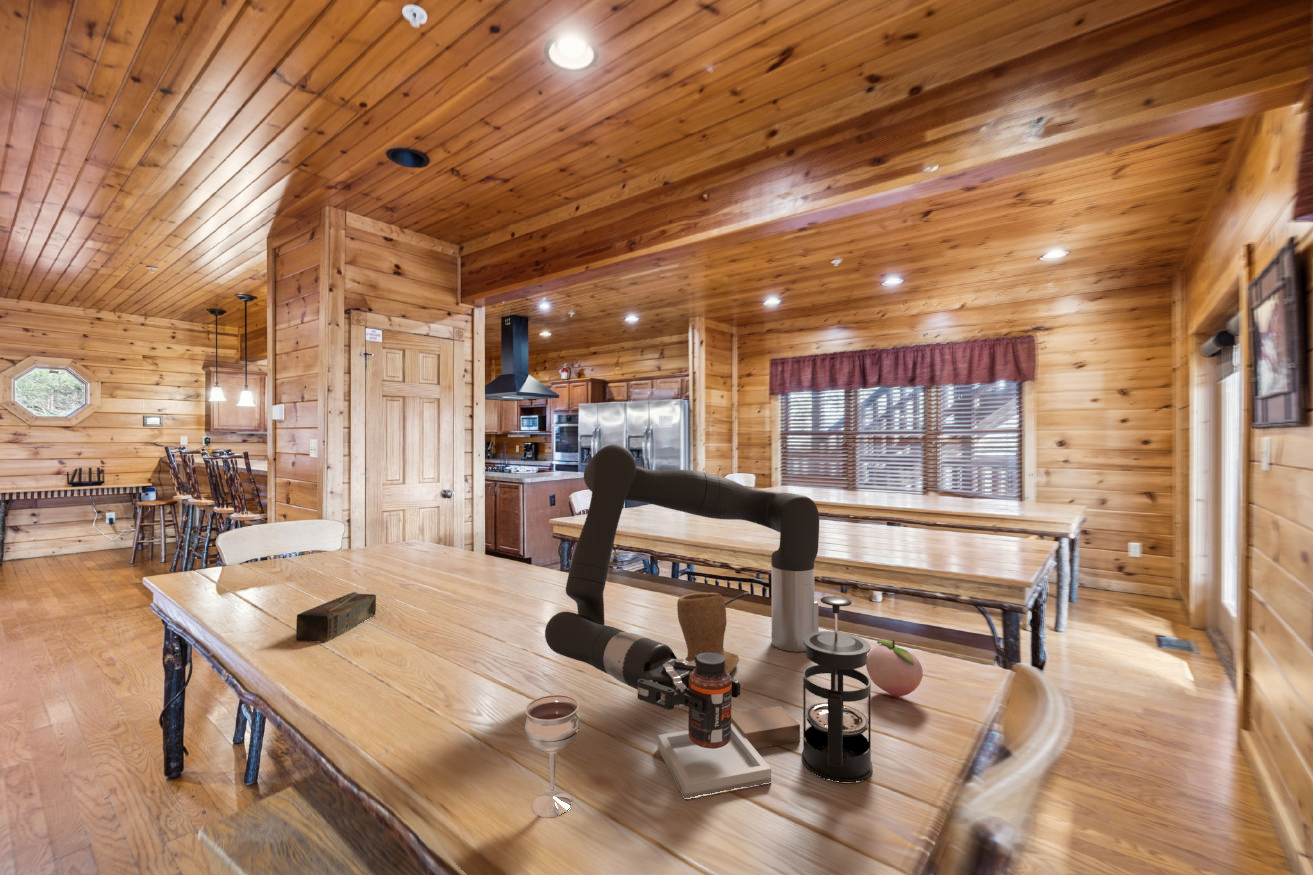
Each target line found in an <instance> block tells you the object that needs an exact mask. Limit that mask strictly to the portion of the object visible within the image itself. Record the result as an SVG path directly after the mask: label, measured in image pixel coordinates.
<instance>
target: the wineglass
mask: <svg viewBox="0 0 1313 875" xmlns="http://www.w3.org/2000/svg"><path fill="white" fill-rule="evenodd" d="M579 708H580V702H579V701H578V699H576V698H574V697H573V696H571V695H565V694H549V695H544V696H540V697H537V698H535V699H533V700H532V701H530V702H528V703H527V704H526V706H525V709H524V711H525V714H526V719H525V723H524V732H525V736H526V738H527V741H528V742H529V743H530V744H531V745H532V746H533V747H534V748H535V749H537V750H538V751H540V752H543V753H547V755H548V757H549V782H550V784H549V785H550V791H548V792H544V793H542V794H540V795H538V796H537V797H536V798H534V800H533V802H532V804H531V805H532V806H531V809H532V812H533V813H534V814H535V815H537V816H538V817H542V818H556V817H559V815H560V816H561V813H564V812H566V813H567V812H568V811H569V810H570V809H571V808H570V806H571V802H572V800H573V799H572V800H571V798H572V796H571V795H570V794H569V793H566V792H564V791H561V790H555V781H556V780H555V779H556V754H558V753H559V752H560V751H562V750H564V749H566V748H567V747H568V746H569V745H570V744H572V742H573V741H574V740H575V738H576V737H577V735H578V732H579V730H580V722H581V720H580V715H579V713H578V710H579ZM569 795H570V796H569ZM572 803H573V802H572ZM571 807H572V806H571ZM569 808H570V809H569ZM568 809H569V810H568ZM567 810H568V811H567ZM564 814H565V813H564Z"/></svg>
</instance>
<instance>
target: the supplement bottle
mask: <svg viewBox="0 0 1313 875" xmlns="http://www.w3.org/2000/svg"><path fill="white" fill-rule="evenodd" d="M696 667H697V668H696V669H694V670H693V671H692V672H691V674H690V676H689V688H691V689H694V690H696V691H698V692H701V693H703V694H705V695H708V696H709V697H710V698H711V712H710V713H708V714H703V713H701V712H698V711H696V710H694V709H692V708H690V707H688V714H687V715H688V716H687V717H688V722H687V723H688V725H687V726H688V727H687V730H688V731H689V738H690V740H691V741H692V742H693V743H694V744H696V745H698V746H700V747H704V748H711V749H716V748H720V747H723V746H725V745H726V744H728V743H729V741H730V739H731V713H732V700H733V699H732V698H733V697H732V689H731V687H732V680H731V678H732V676H731V674H730V673H728V672H727V671H726V670H725V658H724V657H723V656H722V655H720V654H717V653H702V654H699V655H698V656H697V657H696ZM689 688H688V689H689Z"/></svg>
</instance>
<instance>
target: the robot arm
mask: <svg viewBox="0 0 1313 875" xmlns="http://www.w3.org/2000/svg"><path fill="white" fill-rule="evenodd" d="M583 480H584V483H585V485H586V487H587V489H588V490H589V491H590V492H591V497H590V498H591V499H590V503H589V506H588V507H589V508H588V511H587V514H586V518H585V521H584V523H583V527H582V529H581V532H580V535H579V538H578V540H577V543H576V545H575V549H574V553H573V555H572V560H571V564H570V568H569V572H568V576H567V579H566V584H565V593H566V595H567V596H568V597H569V598H570V599H572V600H573V601H574V602H575V603H576V606H577V608H576V609H577V613H575V612H571V611H560V612H557V613H556V614H554V615H553V616H551V618H550V619H549V620H548V622H547V624H546V625H545V629H544V638H545V641H546V643H547V646H548V647H549V648H550V650H552V651H553V652H555V653H556V654H558V655H559V656H563V657H567V658H569V659H572V660H576V661H579V662H582V663H585V664H588V665H590V666H592V667H593V668H595V669H596V670H598V671H601V672H603V673H605V674H607V675H610V676H611V677H613V678H614V679H615V680H617V681H618V682H620V683H623V684H624V685H627V686H628V687H630V688H633V689H635V690H637V699H638V700H640V701H643V702H645V703H648V704H650V705H654V706H656V707H659V708H662V709H665V710H668V711H673V710H675V706H678V707H679V708H685V707H688V708H689V707H690V708H692V709H694V710H696V711H698V712H701V713H703V714H708V713H710V712H711V698H710V697H709V696H708V695H705V694H703V693H701V692H698V691H696V690H694V689H691V688H689V676H690V674H691V672H692V671H693V670H694V669H696V668H697V667H696V657H697V656H698V655H699V654H697V655H695V660H694V661H691V662H689V661H687V660H685V659H683V658H677V656H676V655H675V653H674V651H673V649H672V648H671V647H670V646H669V645H667V644H666V643H662V642H659V641H656V640H654V639H651V638H649V637H645V636H643V635H640V634H638V633H632V632H628V631H626V630H622V629H620V628H617V627H614V626H610V625H605V602H604V591H605V587H606V584H607V583H606V582H607V578H608V572H609V569H610V562H611V558H612V552H613V549H614V548H613V547H614V543H615V538H616V534H617V530H618V526H619V525H618V524H619V522H620V519H621V514H622V512H623V508H624V506H625V501H631V502H640V503H645V504H646V503H647V504H650V505H655V506H658V507H661V508H665V509H670V510H674V511H679V512H683V513H686V514H689V515H694V516H698V517H704V518H708V519H709V518H710V519H714V520H715V519H716V520H727V521H728V520H739V521H746V522H751V523H754V524H757V525H760V526H762V527H766V528H769V529H771V530H773V531H775V532H778V533H780V534H779V545H778V549H776V550H775V551H773V552H772V554H771V562H770V563H771V575H770V576H771V644H772V646H774V647H776V648H777V649H780V650H783V651H788V652H794V653H795V652H796V653H797V652H798V653H799V652H802V653H803V652H806V646H805V645H804V643H803V638H804V636H806V635H807V634H810V633H814V632H819V602H817V601H815V561H816V559H817V556H818V553H819V543H820V542H819V540H820V539H819V538H820V512H819V510H818V506H817V504H816V503H815V502H814V500H813V499H812V498H811V497H808V496H806V495H803V494H796V493H792V492H781V491H778V492H777V491H770V490H762V489H756V488H751V487H748V486H745V485H743V484H741V483H738V482H737V481H733V479H729V478H727V477H723V476H720V475H716V474H712V473H708V472H704V471H699V470H691V469H665V470H664V469H658V470H657V469H649V468H645V467H641V466H638V465H637V463H636V460H635V457H634V455H633V453H632V452H631V451H630V450H629V449H628V448H626V447H625V446H622V445H620V444H609V445H606V446H605V447H603V448H601V449H599V450H598V451H597V452H596V453H595V454H594V455H593V456H592V457H591V459H590V461H589V462H588V463H587V465H586V466H585V468H584V472H583ZM731 680H732V687H731V689H732V698H734V699H736V698H739V697H740V696H741V682H740V681H739V680H737V679H735V678H732V677H731ZM662 694H663V695H664V696H665V697H664V698H665V699H663V698H662Z"/></svg>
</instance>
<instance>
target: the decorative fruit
mask: <svg viewBox="0 0 1313 875" xmlns="http://www.w3.org/2000/svg"><path fill="white" fill-rule="evenodd" d="M876 644H878V645H876V646H875V647H874V648H872V649H870V651H869V652H868V653H867V663H866V665H865V666H866V671H867V674H868V676H869V679H870V681H872V683H873V684H874V685H876V686H877V687H878V689H881V690H882V691H884V692H886V693H887V694H889V695H890V696H891V697H893V698H900V697H904V696H907V695H909V694H911V693H913V692H914V691H915V690H916V689H917V688H918V687H919V686H920V684H921V682H922V680H923V674H924V673H923V672H924V670H923V667H922V664H921V662H920V660H919V658H918V657H917V656H916V655H915V654H913V653H912V652H911V651H909V650H908V649H904V648H901V647H899V646H897V645H896V644H895V640H894V639H892V641H890V640H887V639H884V640H883V639H879V640H878V641H876Z"/></svg>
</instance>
